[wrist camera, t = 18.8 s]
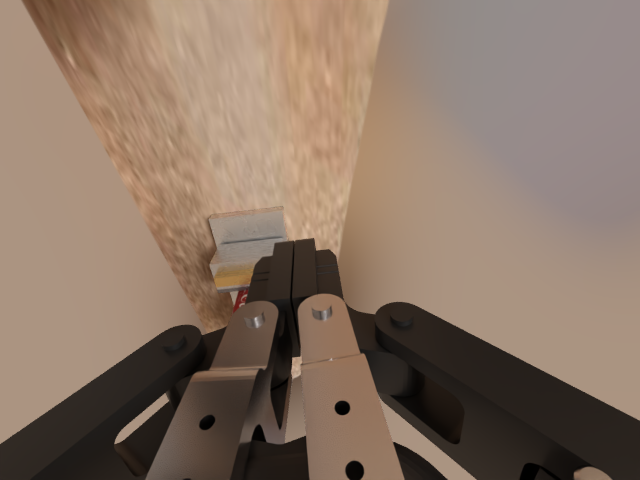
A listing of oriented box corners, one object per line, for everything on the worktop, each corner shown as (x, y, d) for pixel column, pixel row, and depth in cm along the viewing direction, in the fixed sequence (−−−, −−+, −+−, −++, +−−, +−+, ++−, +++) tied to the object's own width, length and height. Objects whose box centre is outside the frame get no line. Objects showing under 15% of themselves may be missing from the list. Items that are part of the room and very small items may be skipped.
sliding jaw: (219, 244, 40) (206, 270, 35) (282, 237, 40) (279, 262, 35) (226, 271, 42) (215, 299, 37) (287, 264, 42) (284, 291, 37)
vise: (211, 214, 40) (196, 238, 34) (282, 206, 40) (279, 228, 34) (239, 313, 47) (231, 346, 42) (299, 306, 47) (299, 338, 42)
